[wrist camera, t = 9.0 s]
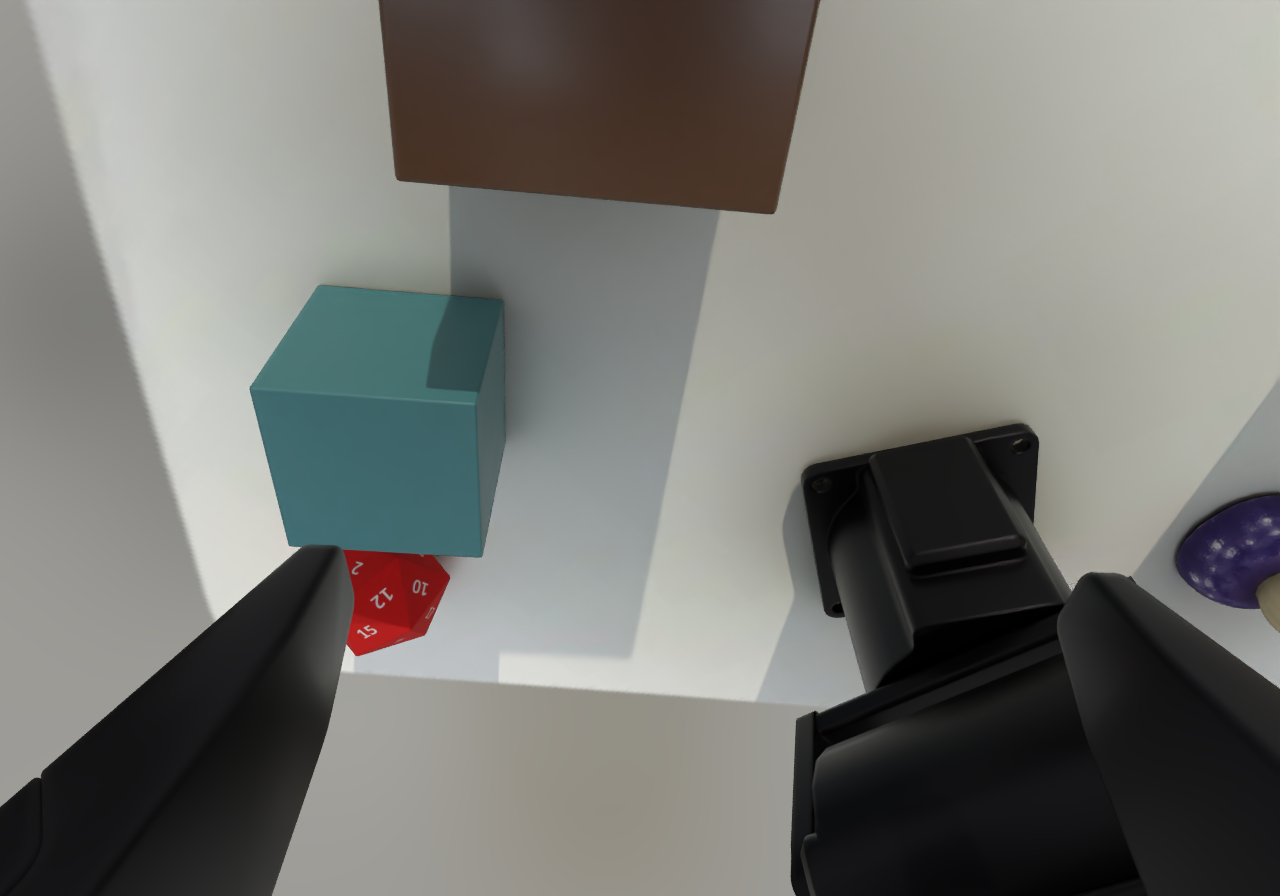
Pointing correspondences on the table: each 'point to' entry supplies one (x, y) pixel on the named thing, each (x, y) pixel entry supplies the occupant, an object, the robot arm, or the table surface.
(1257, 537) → the toy lamp
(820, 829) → the robot arm
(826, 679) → the table surface
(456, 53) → the walnut block
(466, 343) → the teal cube
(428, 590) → the die
